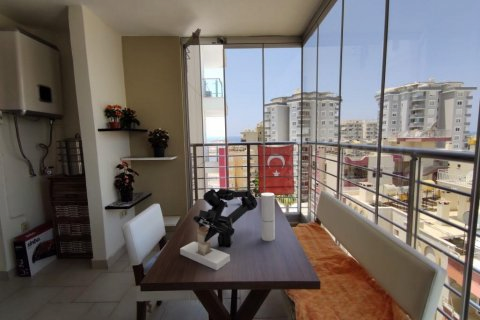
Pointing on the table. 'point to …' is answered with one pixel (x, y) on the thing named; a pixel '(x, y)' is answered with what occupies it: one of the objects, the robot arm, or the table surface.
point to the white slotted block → (211, 259)
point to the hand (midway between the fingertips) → (201, 240)
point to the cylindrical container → (268, 216)
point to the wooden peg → (203, 246)
